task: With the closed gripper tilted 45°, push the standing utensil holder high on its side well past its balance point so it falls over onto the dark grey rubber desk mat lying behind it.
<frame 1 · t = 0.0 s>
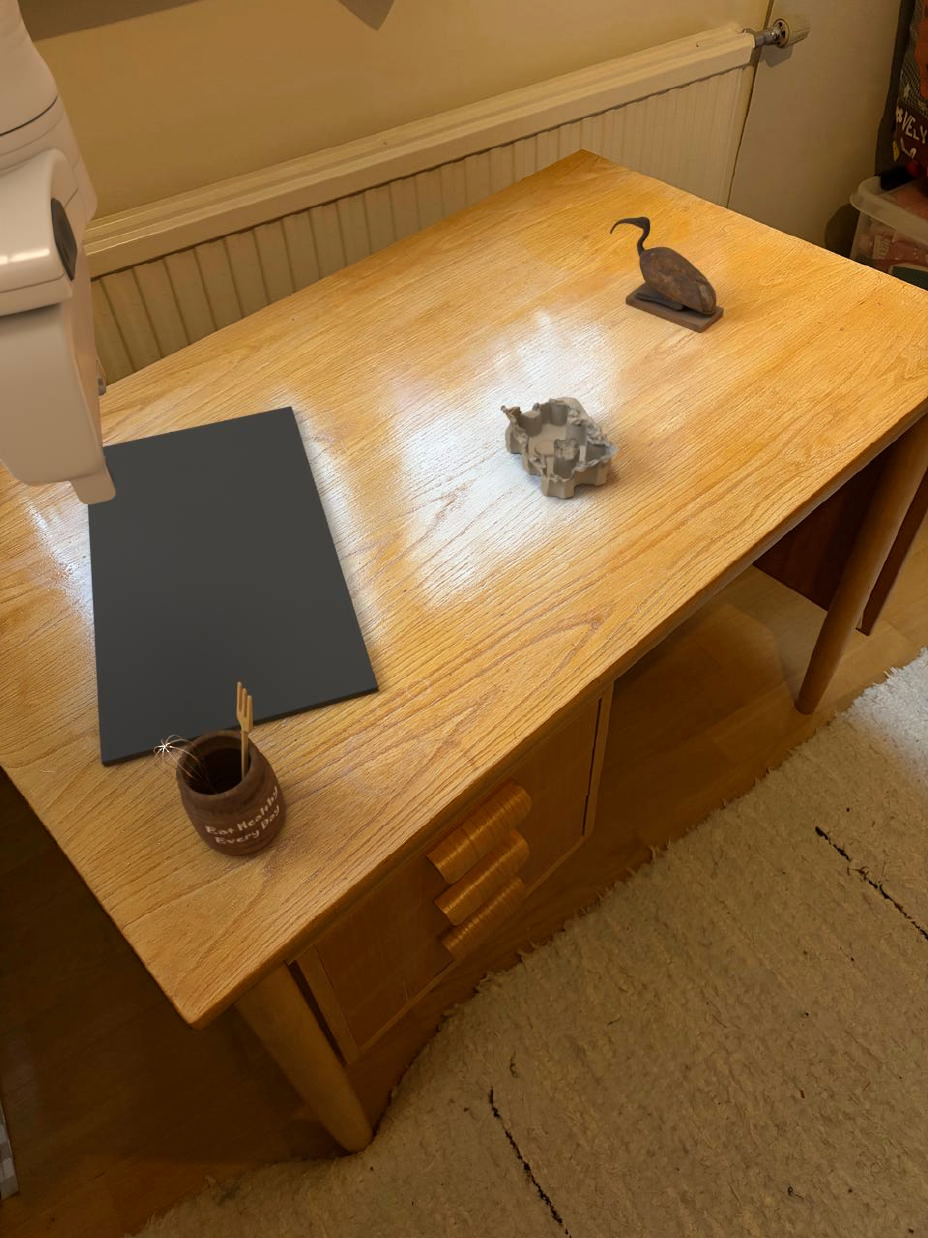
hand: (96, 439, 48), 23 cm above the table, tool pointing down, fingers open, 8 cm apart
figurine: (656, 304, 97), on the table
utensil holder: (245, 817, 59), on the table
desk mat: (214, 558, 74), on the table
egg carton: (557, 461, 81), on the table
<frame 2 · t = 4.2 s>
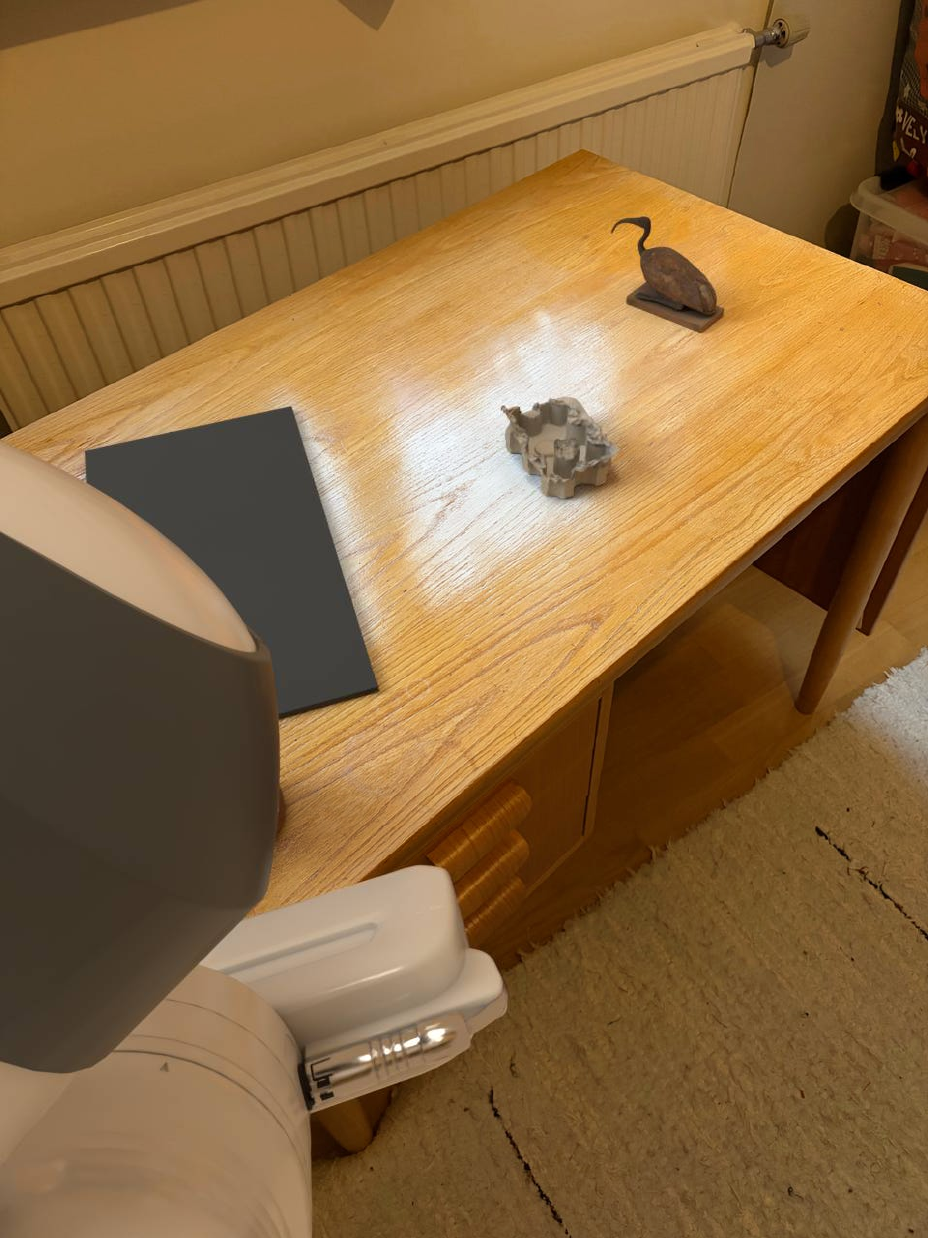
hand: (196, 931, 35), 18 cm above the table, tool tilted 45°, fingers closed
nothing on the table moved.
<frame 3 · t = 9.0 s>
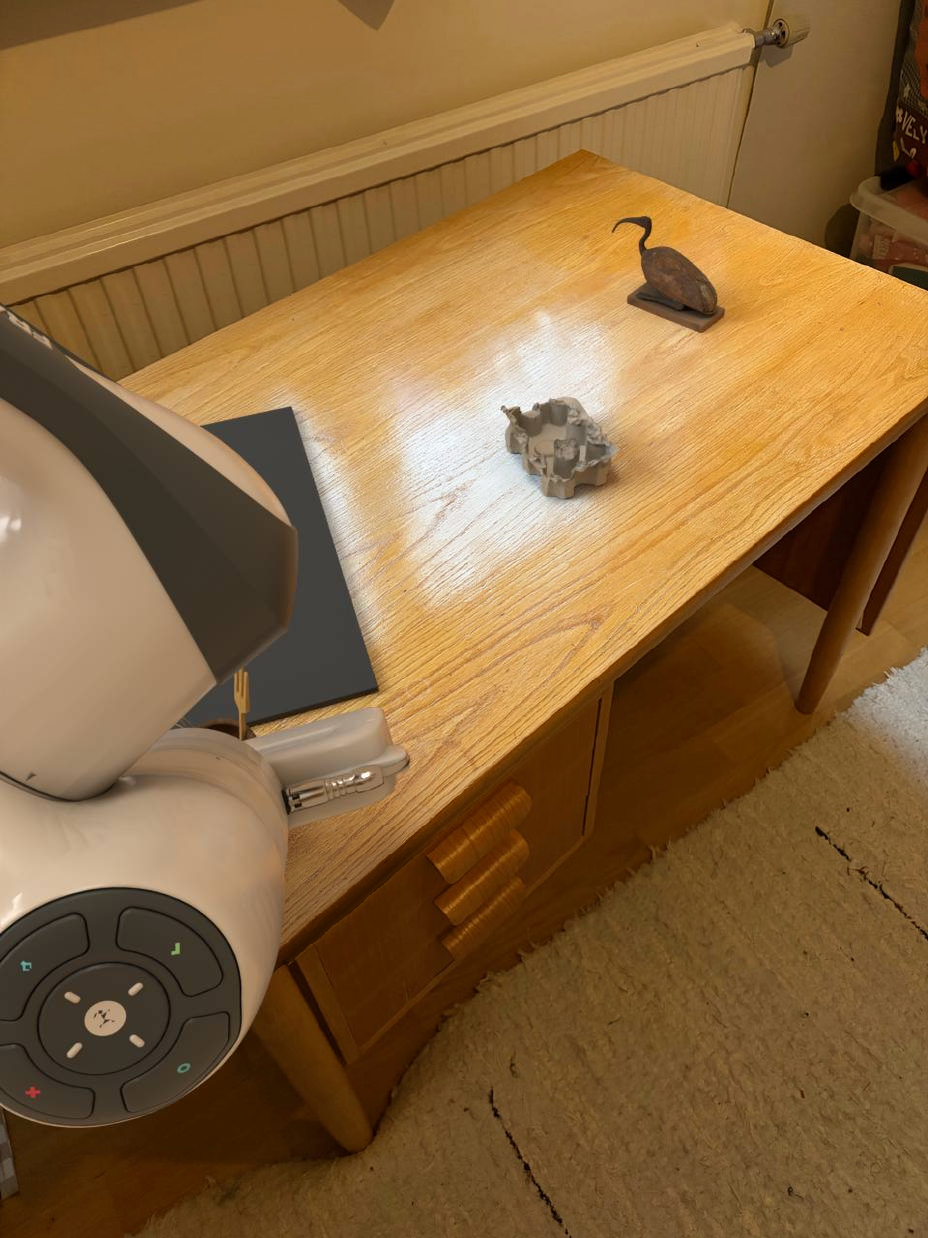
hand: (216, 763, 52), 8 cm above the table, tool tilted 45°, fingers closed, pressing on utensil holder
utensil holder: (245, 815, 59), on the table, touching gripper
everything else where it was.
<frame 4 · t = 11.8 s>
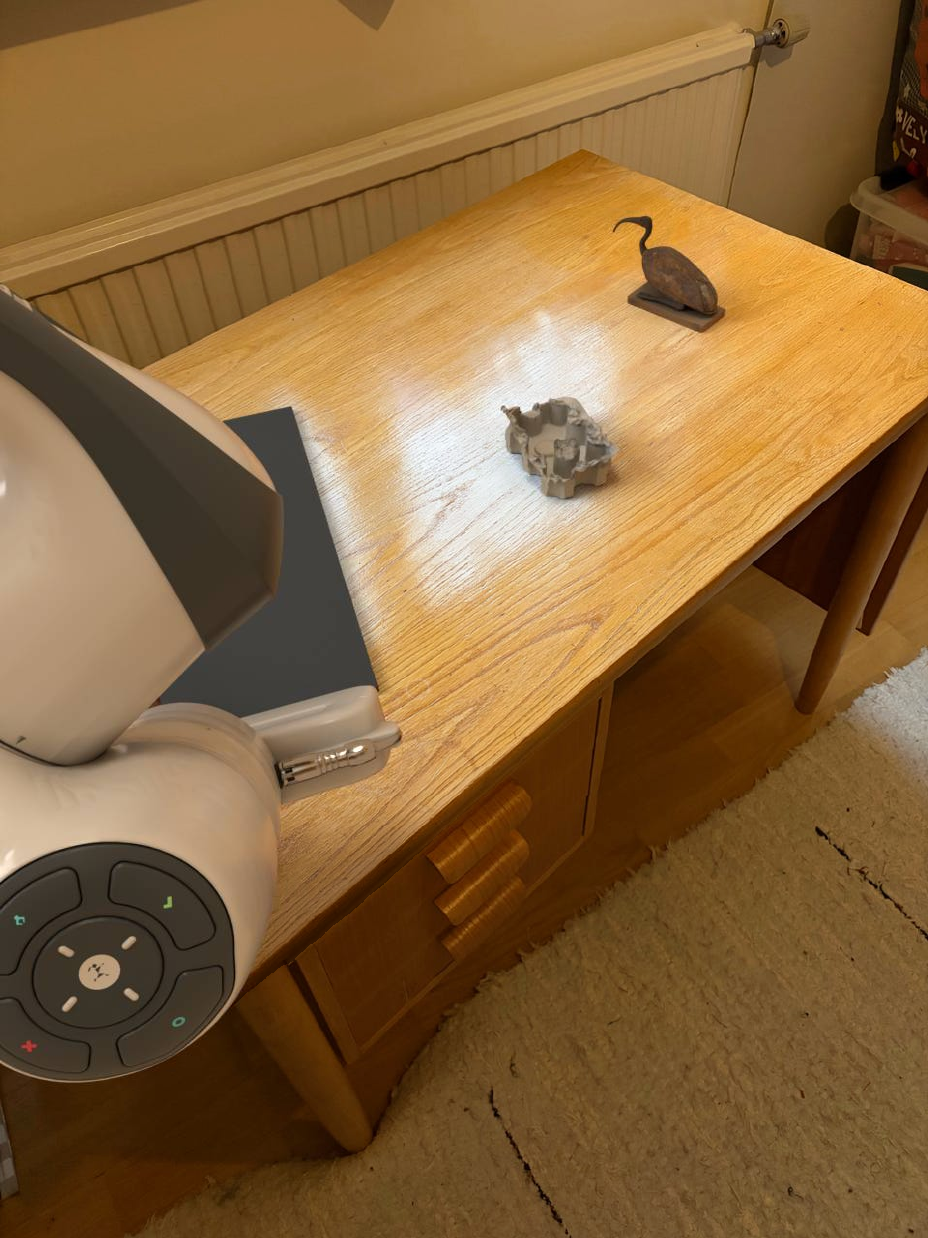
hand: (210, 744, 52), 9 cm above the table, tool tilted 45°, fingers closed
utensil holder: (123, 780, 57), point 4 cm above the table, touching desk mat
everything else where it was.
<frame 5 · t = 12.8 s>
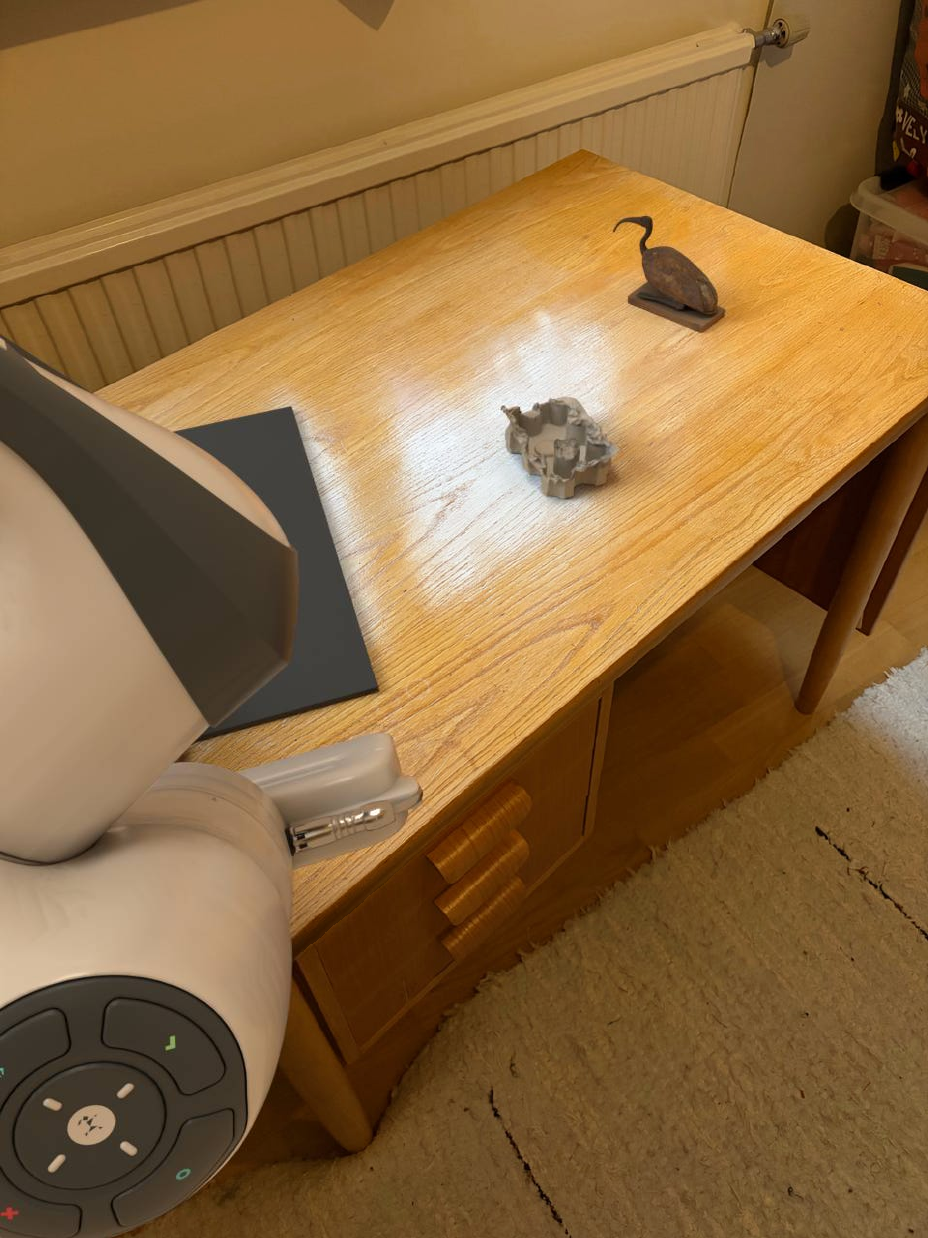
hand: (213, 791, 49), 10 cm above the table, tool tilted 45°, fingers closed
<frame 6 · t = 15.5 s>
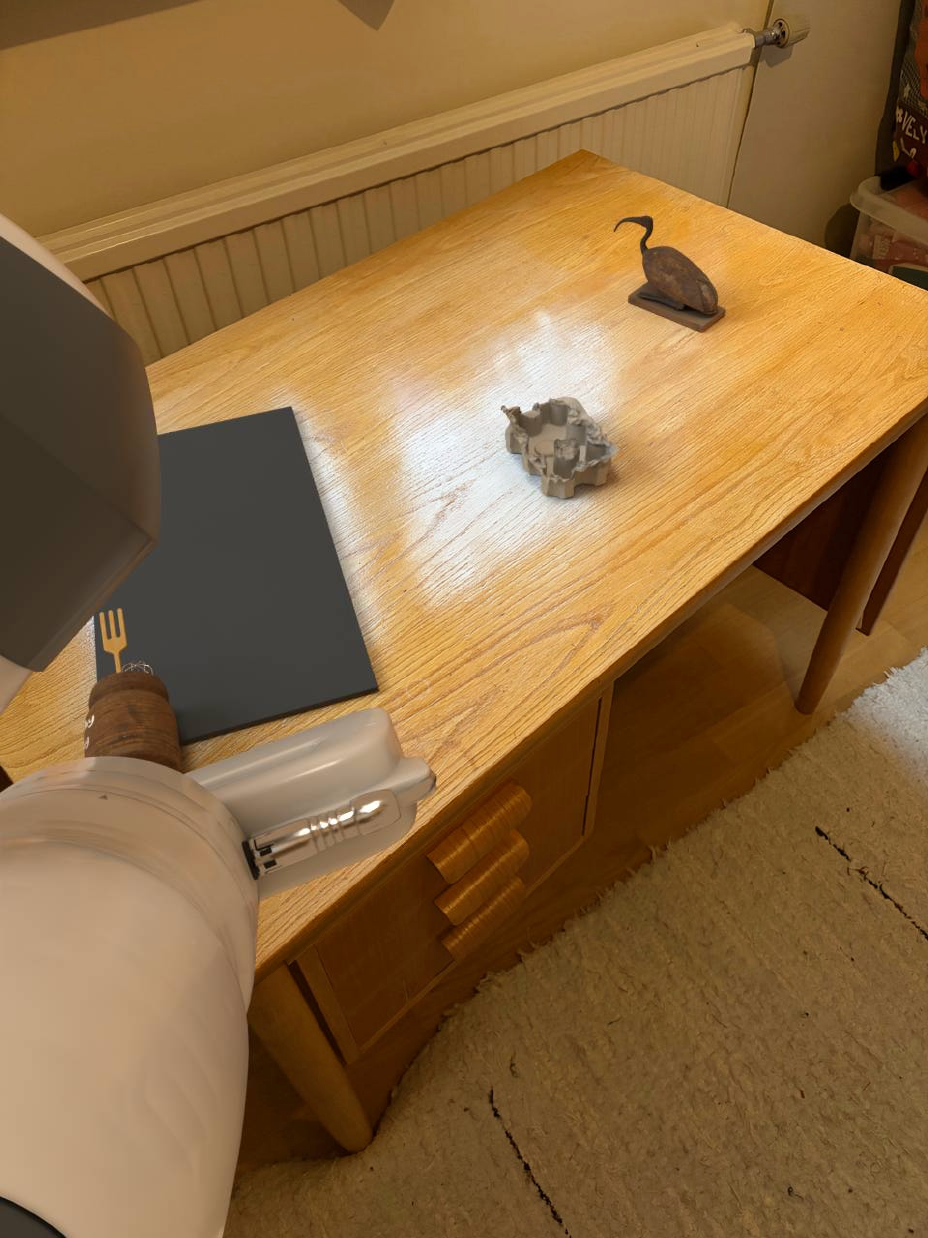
hand: (161, 807, 37), 20 cm above the table, tool tilted 45°, fingers closed
nothing on the table moved.
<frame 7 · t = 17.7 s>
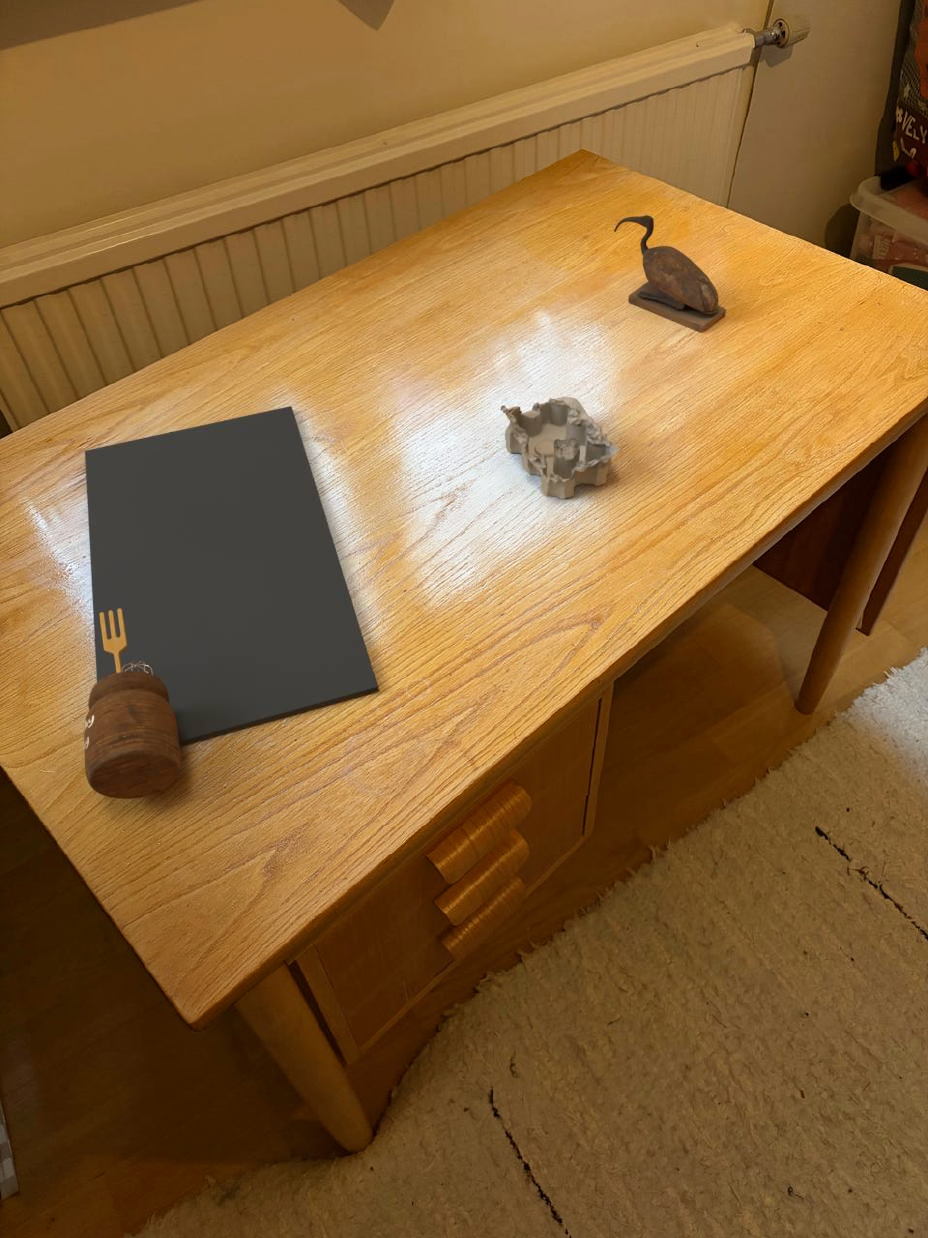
nothing on the table moved.
at the end: utensil holder tilted 89°; utensil holder touching desk mat; the gripper is holding nothing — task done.
